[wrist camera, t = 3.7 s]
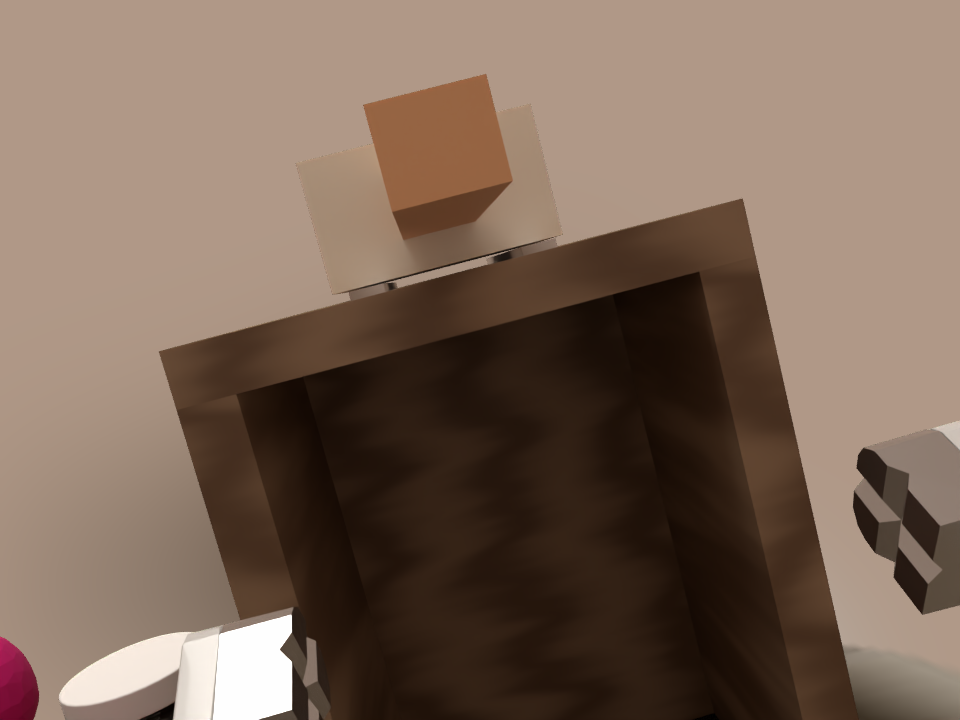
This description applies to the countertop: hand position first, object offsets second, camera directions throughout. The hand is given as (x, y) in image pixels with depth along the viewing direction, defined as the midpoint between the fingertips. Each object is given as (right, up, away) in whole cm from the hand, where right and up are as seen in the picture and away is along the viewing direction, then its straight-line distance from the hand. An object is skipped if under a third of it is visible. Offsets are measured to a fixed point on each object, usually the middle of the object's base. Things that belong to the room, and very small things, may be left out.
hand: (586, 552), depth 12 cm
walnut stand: (+4, -19, +27) cm, 33 cm away
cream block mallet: (-2, +6, +18) cm, 19 cm away
